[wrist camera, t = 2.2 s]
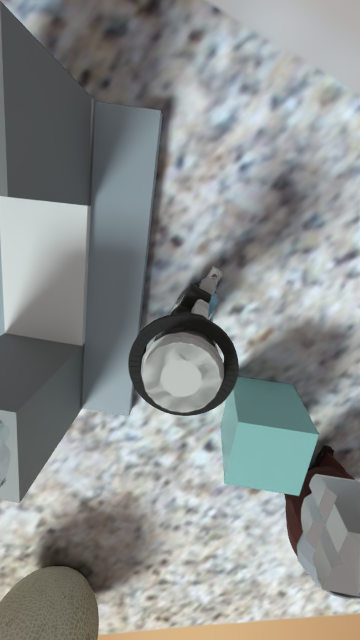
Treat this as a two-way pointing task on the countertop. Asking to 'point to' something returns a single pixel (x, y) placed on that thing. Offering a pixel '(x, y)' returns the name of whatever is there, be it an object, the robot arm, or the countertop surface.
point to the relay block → (266, 437)
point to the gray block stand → (66, 249)
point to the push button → (185, 355)
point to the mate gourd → (300, 545)
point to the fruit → (50, 607)
